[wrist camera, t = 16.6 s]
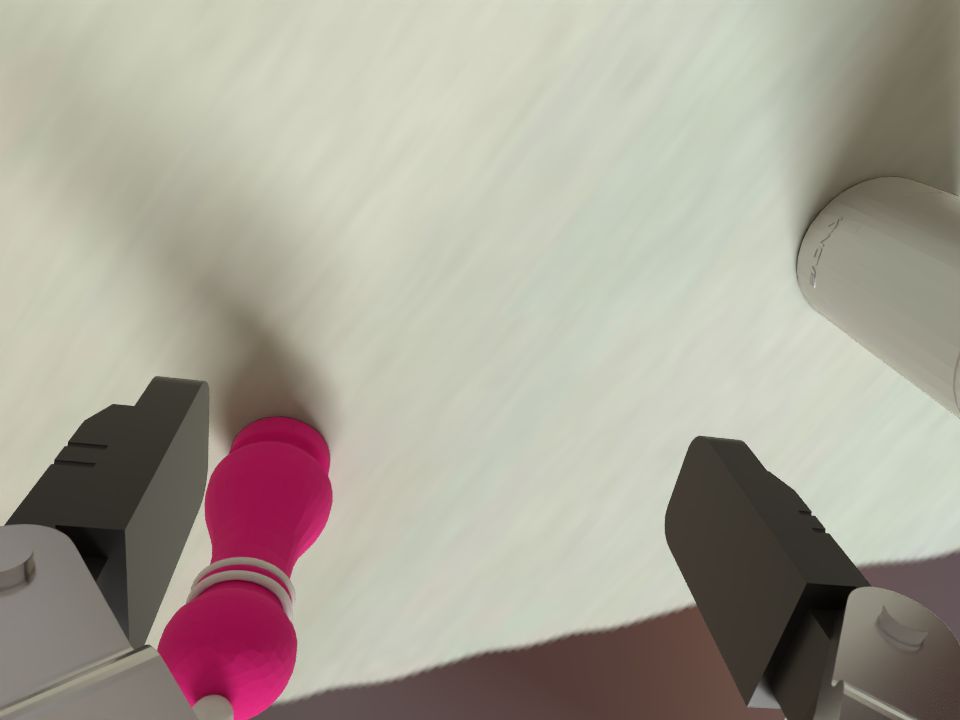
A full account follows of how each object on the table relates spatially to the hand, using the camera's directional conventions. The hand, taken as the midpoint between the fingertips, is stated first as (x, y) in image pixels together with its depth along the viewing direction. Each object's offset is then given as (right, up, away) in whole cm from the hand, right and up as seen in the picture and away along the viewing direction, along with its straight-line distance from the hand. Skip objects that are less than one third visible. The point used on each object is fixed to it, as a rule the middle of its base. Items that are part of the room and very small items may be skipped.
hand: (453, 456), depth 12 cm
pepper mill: (-12, -5, +35) cm, 37 cm away
